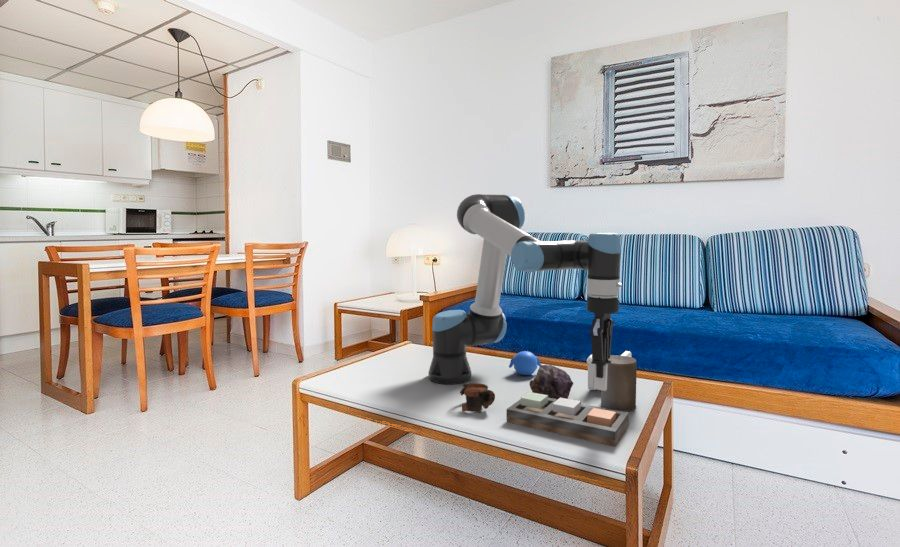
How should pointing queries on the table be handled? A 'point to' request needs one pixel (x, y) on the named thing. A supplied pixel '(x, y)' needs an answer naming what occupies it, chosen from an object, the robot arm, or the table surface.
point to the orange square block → (601, 417)
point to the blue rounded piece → (525, 363)
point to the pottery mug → (477, 397)
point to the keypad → (569, 422)
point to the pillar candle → (620, 384)
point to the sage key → (534, 400)
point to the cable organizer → (592, 370)
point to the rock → (551, 382)
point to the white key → (566, 406)
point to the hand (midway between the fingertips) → (600, 388)
